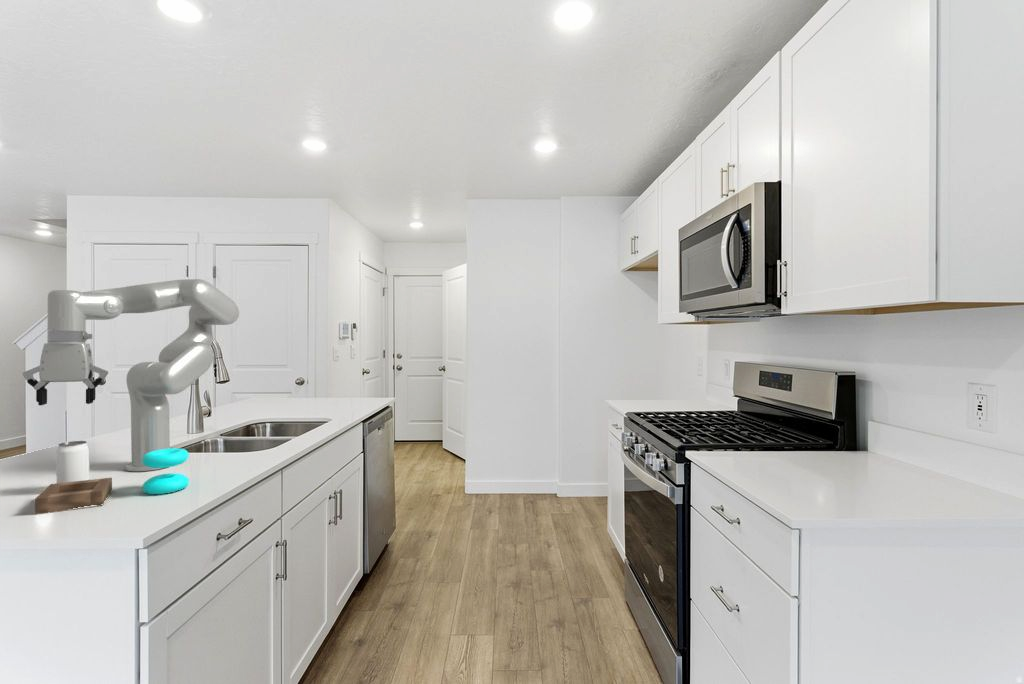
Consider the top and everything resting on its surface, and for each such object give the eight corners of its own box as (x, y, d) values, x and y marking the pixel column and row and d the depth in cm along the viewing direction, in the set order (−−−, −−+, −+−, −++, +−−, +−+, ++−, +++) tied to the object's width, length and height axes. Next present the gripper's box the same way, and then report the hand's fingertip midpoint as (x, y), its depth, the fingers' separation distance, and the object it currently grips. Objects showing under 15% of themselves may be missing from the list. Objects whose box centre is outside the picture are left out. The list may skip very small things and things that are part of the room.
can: (69, 485, 137) (68, 440, 137) (95, 485, 138) (94, 440, 137) (50, 493, 131) (49, 446, 130) (77, 492, 131) (76, 445, 131)
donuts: (183, 454, 131) (136, 457, 127) (184, 493, 131) (137, 498, 128) (192, 446, 140) (148, 448, 137) (192, 482, 141) (149, 486, 137)
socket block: (112, 490, 133) (111, 477, 133) (102, 505, 122) (102, 491, 122) (50, 498, 127) (50, 484, 127) (35, 514, 116) (34, 499, 116)
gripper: (112, 338, 141) (111, 401, 141) (30, 337, 134) (30, 403, 134) (103, 338, 134) (102, 404, 134) (16, 337, 127) (16, 407, 127)
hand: (66, 404), depth 134 cm, fingers open, 9 cm apart
